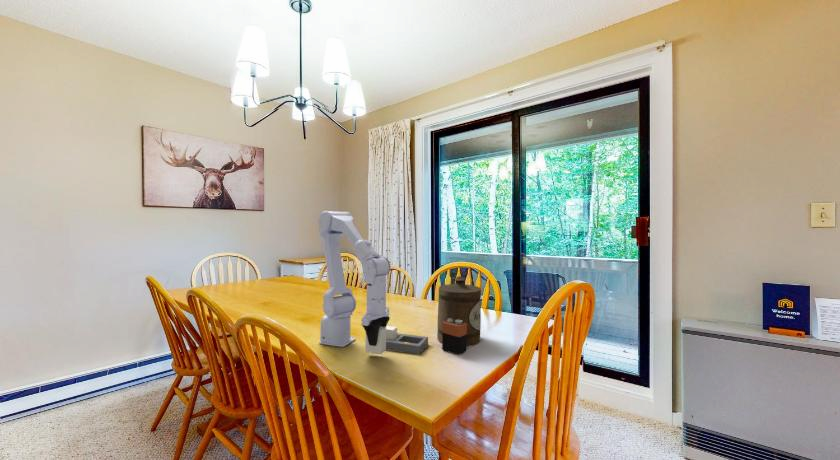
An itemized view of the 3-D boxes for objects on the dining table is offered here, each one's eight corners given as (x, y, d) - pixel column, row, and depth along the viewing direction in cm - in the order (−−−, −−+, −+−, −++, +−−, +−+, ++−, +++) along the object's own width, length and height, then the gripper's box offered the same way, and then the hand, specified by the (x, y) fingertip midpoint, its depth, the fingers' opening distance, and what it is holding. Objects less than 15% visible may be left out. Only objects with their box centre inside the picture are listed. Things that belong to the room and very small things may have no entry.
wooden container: (483, 347, 110) (484, 280, 109) (438, 346, 110) (438, 279, 110) (476, 333, 125) (477, 273, 124) (436, 332, 125) (437, 273, 125)
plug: (365, 351, 100) (365, 328, 100) (370, 347, 104) (371, 325, 104) (380, 354, 99) (381, 330, 99) (385, 350, 102) (386, 327, 102)
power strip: (369, 347, 109) (369, 330, 109) (381, 338, 118) (381, 322, 118) (419, 354, 104) (419, 336, 104) (428, 344, 112) (428, 328, 112)
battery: (459, 355, 103) (459, 323, 103) (441, 350, 107) (441, 318, 107) (467, 351, 106) (467, 320, 106) (449, 346, 111) (449, 316, 110)
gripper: (377, 304, 93) (377, 353, 93) (398, 294, 106) (397, 336, 107) (355, 302, 95) (354, 349, 95) (377, 292, 109) (377, 334, 109)
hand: (375, 342), depth 101 cm, fingers closed on plug, 3 cm apart
